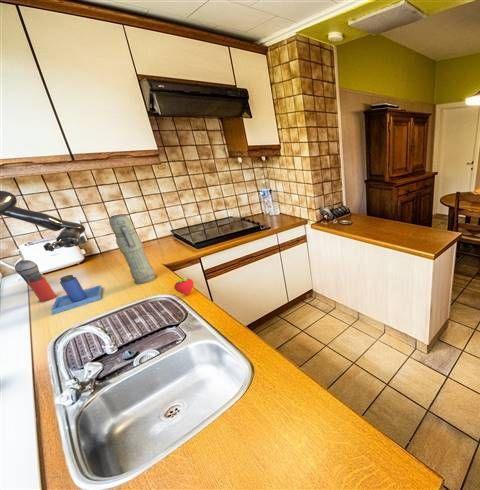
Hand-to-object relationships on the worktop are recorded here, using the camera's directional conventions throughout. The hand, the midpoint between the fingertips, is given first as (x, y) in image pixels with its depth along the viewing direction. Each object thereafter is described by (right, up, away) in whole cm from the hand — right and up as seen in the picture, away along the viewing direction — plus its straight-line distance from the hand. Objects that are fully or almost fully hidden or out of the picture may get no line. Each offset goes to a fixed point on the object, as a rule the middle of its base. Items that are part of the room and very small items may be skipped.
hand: (63, 246), depth 130 cm
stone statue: (+33, -17, +9) cm, 38 cm away
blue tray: (+14, -25, -6) cm, 30 cm away
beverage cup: (-21, -21, +8) cm, 31 cm away
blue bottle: (+14, -24, -6) cm, 29 cm away
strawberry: (+66, -22, -7) cm, 70 cm away
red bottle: (-4, -25, -3) cm, 25 cm away
